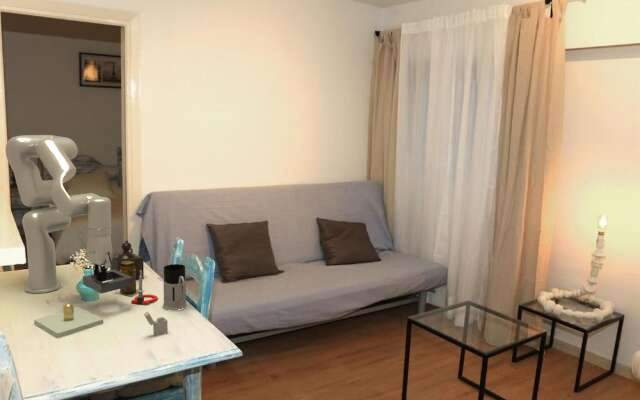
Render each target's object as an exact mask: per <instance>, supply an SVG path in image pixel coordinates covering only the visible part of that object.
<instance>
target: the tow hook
mask: <svg viewBox="0 0 640 400" xmlns="http://www.w3.org/2000/svg"><path fill="white" fill-rule="evenodd" d="M138 290H139V291H138V294H137V295H138V296H137V295H136V296H135V297H134V298H133V299H131V301H130V302H131V304H136V305H142V306H143V305H144V306H149V305H150V304H151V303H155V302H157V301H158V300H159V297H158V296H157V295H154V294H143V291H144V290H143V279H142V270H140V276H139V280H138ZM145 298H150V299H145Z"/></svg>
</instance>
